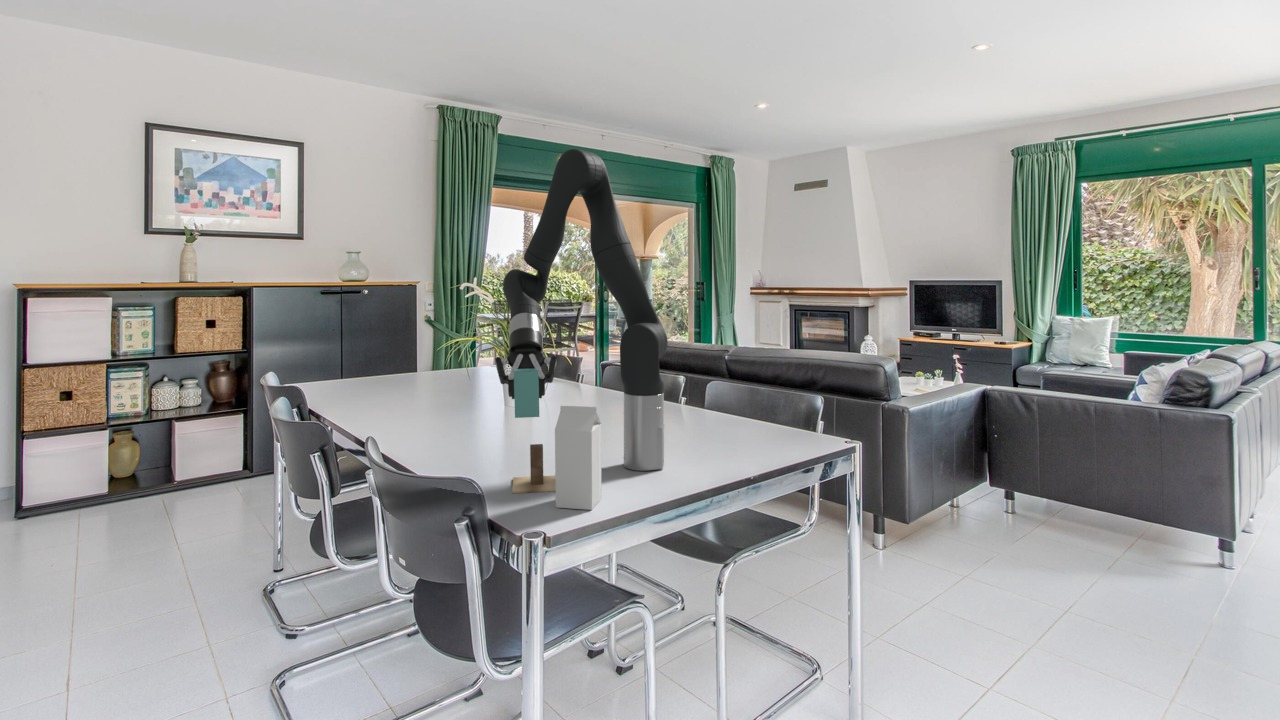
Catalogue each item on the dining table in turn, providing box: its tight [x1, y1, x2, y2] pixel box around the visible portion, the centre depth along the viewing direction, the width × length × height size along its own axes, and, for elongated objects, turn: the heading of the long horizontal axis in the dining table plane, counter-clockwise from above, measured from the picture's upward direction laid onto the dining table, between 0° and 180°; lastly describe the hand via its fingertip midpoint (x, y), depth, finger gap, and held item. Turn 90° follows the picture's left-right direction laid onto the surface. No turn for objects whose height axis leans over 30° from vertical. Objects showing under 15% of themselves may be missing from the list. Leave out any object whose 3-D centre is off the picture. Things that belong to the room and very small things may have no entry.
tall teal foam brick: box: [513, 368, 540, 419], centre depth 146 cm, size 5×5×10 cm
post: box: [512, 443, 556, 494], centre depth 140 cm, size 10×10×8 cm
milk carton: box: [554, 404, 603, 511], centre depth 127 cm, size 7×7×19 cm
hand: (526, 396), depth 144 cm, fingers closed on tall teal foam brick, 5 cm apart
